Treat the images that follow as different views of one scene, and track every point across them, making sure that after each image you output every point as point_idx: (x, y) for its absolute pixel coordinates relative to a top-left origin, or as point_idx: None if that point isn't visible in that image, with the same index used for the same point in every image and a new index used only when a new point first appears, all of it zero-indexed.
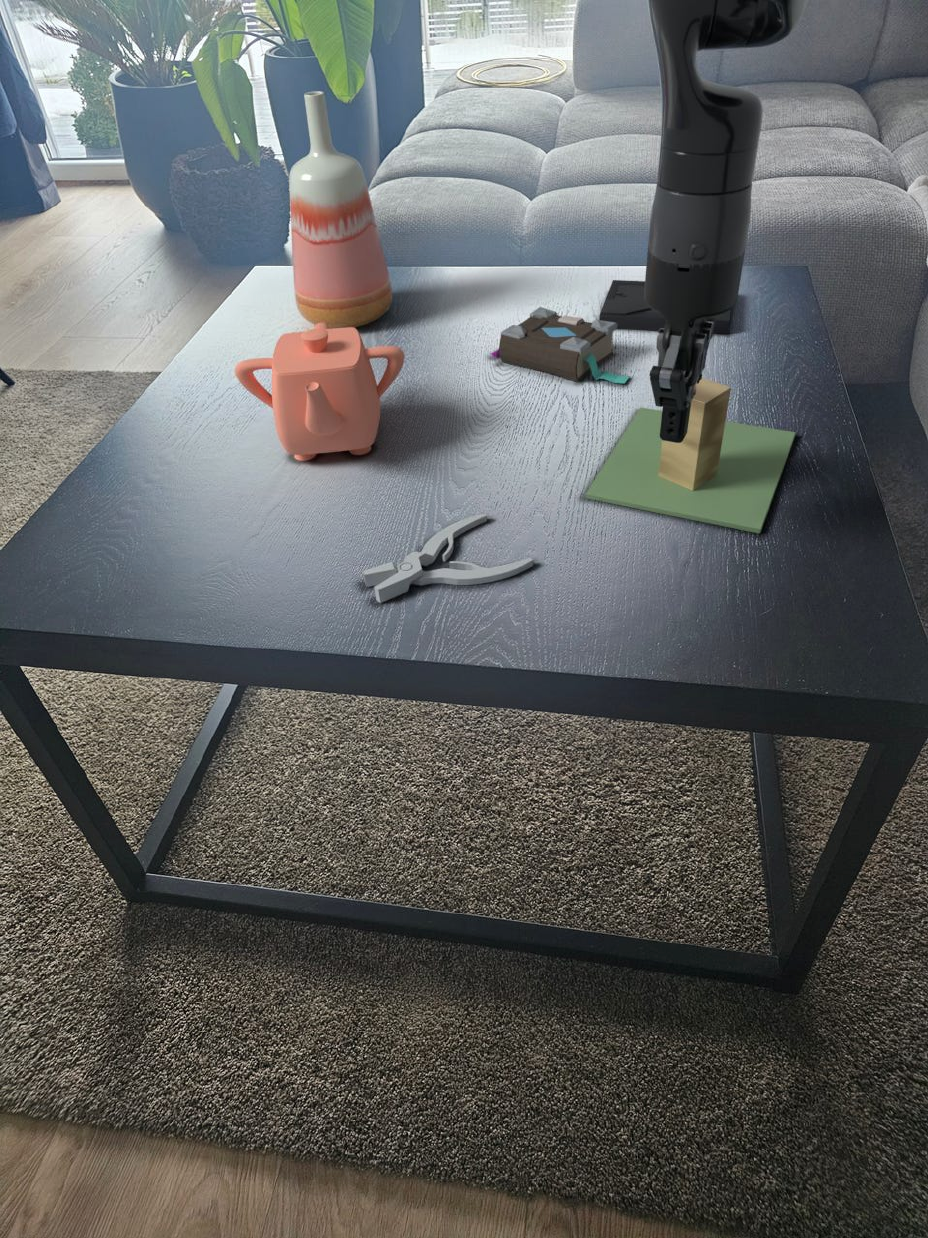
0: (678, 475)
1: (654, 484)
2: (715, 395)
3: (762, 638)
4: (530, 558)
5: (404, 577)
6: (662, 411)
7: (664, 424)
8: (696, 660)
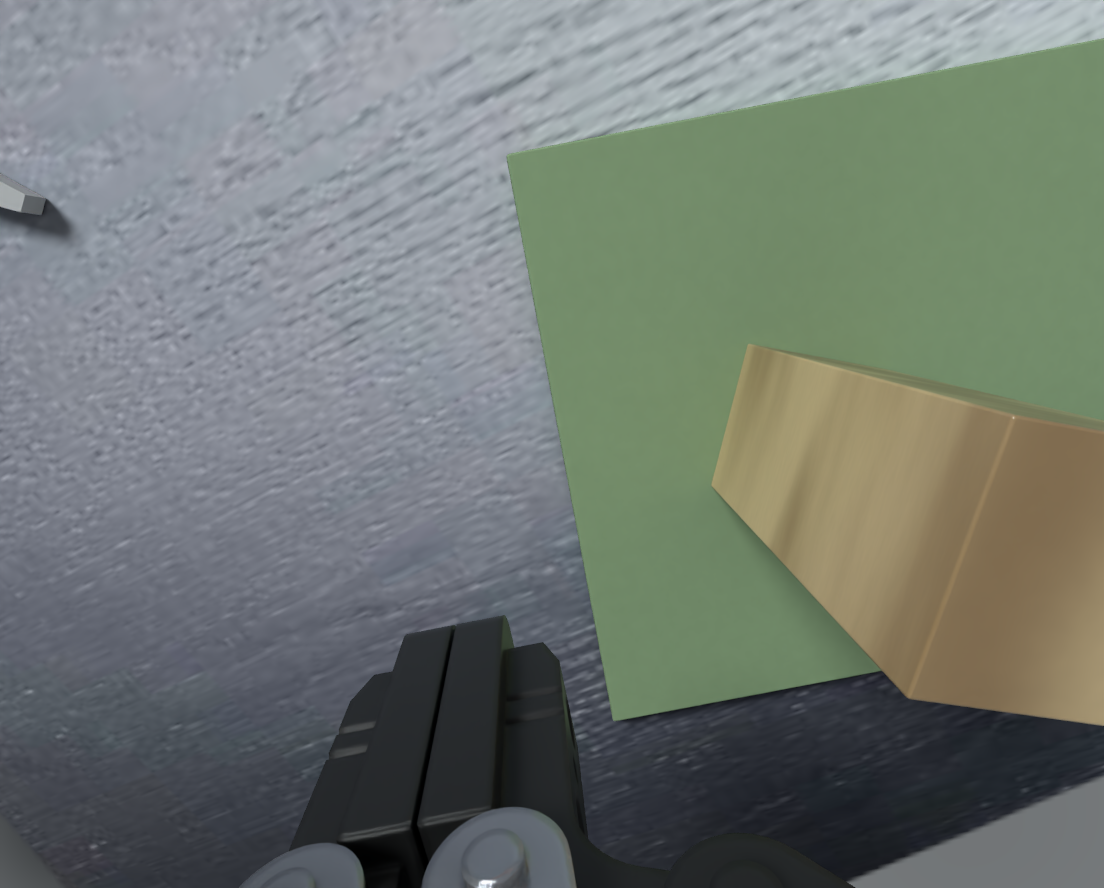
0: (738, 434)
1: (689, 356)
2: (1033, 706)
3: (221, 857)
4: (18, 198)
5: None
6: (363, 768)
7: (331, 758)
8: (47, 781)
